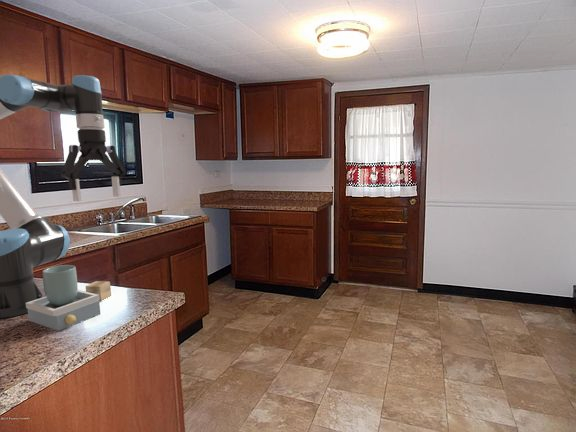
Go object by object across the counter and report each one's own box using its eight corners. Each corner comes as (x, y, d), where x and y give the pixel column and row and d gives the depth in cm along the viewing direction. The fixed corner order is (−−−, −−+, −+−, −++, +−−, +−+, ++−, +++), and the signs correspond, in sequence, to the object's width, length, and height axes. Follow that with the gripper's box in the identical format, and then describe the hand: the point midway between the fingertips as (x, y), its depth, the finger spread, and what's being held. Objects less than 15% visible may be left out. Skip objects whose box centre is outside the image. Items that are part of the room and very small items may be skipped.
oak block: (87, 301, 121) (85, 286, 120) (97, 295, 126) (95, 281, 125) (101, 302, 120) (100, 286, 119) (111, 296, 125) (109, 281, 124)
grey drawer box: (27, 321, 106) (24, 302, 105) (72, 305, 117) (70, 288, 117) (59, 332, 99) (56, 312, 98) (104, 314, 110) (102, 295, 109)
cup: (64, 309, 103) (60, 273, 102) (39, 307, 105) (35, 272, 103) (85, 298, 111) (81, 265, 109) (61, 297, 112) (57, 264, 111)
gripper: (57, 126, 105) (66, 203, 108) (133, 130, 127) (138, 195, 130) (41, 127, 109) (50, 202, 112) (118, 132, 130) (124, 194, 133)
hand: (98, 198), depth 121 cm, fingers open, 13 cm apart
